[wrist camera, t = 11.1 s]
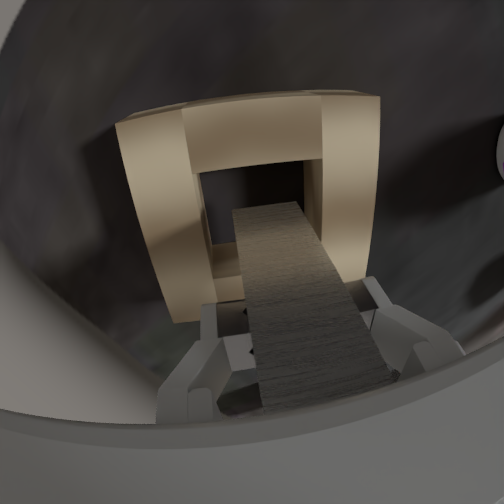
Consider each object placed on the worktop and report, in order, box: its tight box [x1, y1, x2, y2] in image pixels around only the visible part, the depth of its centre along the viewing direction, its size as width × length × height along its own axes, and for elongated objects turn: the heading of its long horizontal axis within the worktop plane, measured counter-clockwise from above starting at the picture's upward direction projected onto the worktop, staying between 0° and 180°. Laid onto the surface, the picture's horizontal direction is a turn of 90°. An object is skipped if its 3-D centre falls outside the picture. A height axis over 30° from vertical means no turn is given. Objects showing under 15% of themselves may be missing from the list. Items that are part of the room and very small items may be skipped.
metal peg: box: [232, 201, 395, 415], centre depth 11 cm, size 3×3×10 cm
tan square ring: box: [115, 90, 380, 323], centre depth 16 cm, size 12×12×4 cm
